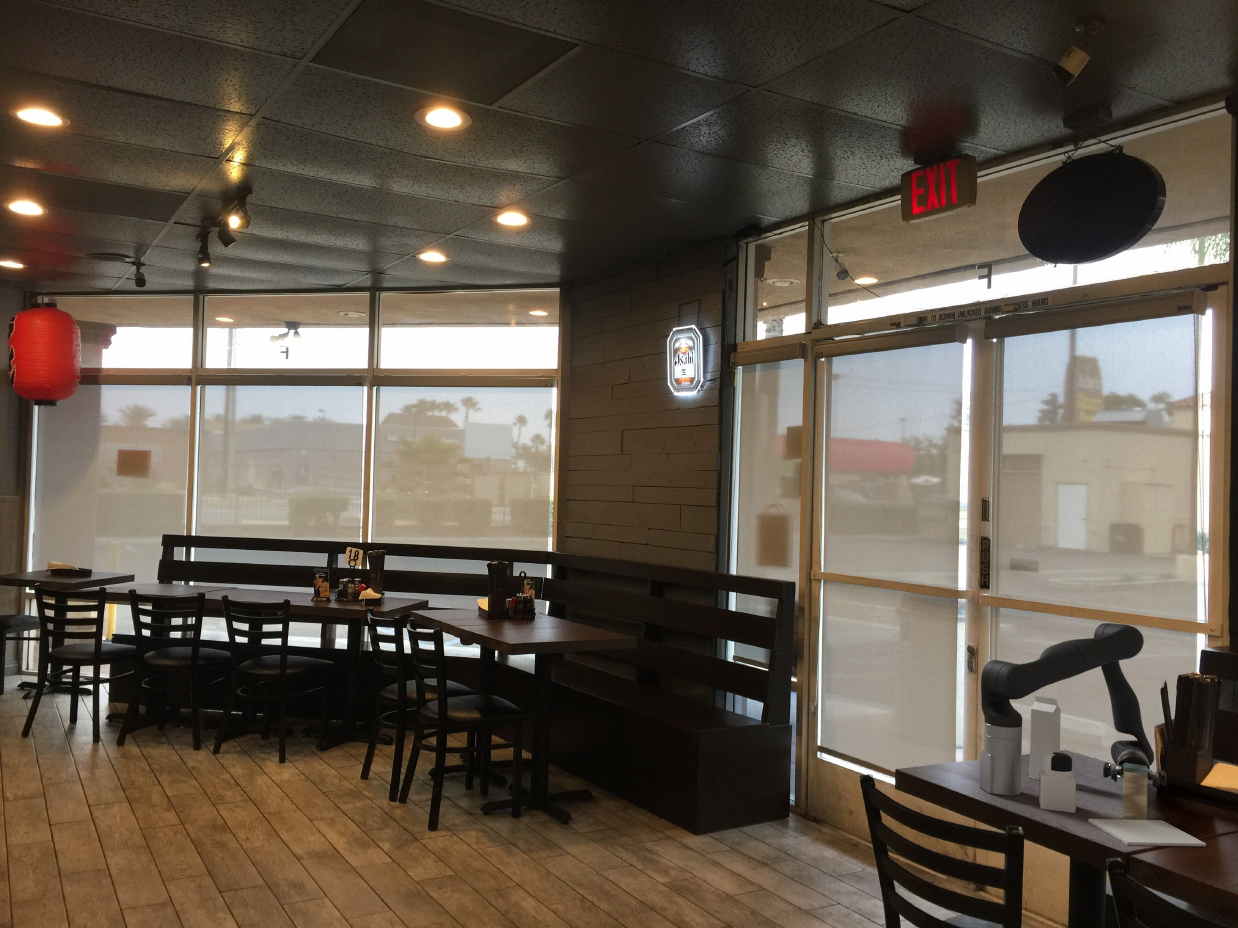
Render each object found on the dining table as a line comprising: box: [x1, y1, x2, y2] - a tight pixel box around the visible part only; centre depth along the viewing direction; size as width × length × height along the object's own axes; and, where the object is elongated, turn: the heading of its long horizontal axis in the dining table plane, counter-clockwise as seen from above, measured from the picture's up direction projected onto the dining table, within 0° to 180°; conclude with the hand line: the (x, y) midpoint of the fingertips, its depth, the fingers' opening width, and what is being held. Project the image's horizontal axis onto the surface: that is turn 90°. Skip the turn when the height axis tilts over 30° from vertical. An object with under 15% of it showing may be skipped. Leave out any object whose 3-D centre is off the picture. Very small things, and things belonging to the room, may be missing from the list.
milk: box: [1028, 695, 1062, 781], centre depth 273 cm, size 6×6×22 cm
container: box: [1038, 752, 1077, 814], centre depth 246 cm, size 8×8×13 cm
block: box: [1122, 763, 1148, 820], centre depth 241 cm, size 5×5×12 cm
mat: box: [1087, 818, 1207, 847], centre depth 228 cm, size 18×16×1 cm
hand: (1135, 780), depth 247 cm, fingers open, 8 cm apart
